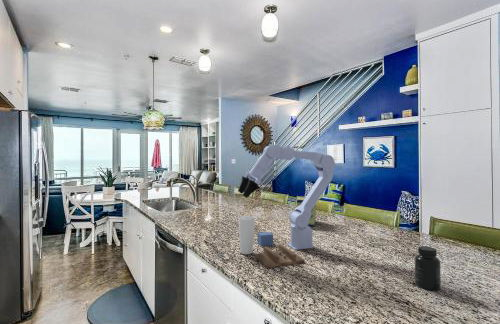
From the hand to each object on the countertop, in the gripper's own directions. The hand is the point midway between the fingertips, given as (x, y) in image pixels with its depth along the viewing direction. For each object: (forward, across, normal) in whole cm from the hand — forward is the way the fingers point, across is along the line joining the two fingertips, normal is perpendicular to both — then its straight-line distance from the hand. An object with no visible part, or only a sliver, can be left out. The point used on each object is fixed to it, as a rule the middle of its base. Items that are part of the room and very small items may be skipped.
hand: (242, 194), depth 116 cm
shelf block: (+13, -2, +24) cm, 28 cm away
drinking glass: (+19, +6, +14) cm, 25 cm away
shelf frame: (+13, +17, +22) cm, 30 cm away
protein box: (-6, -31, +58) cm, 65 cm away
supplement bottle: (-10, +51, +50) cm, 72 cm away
